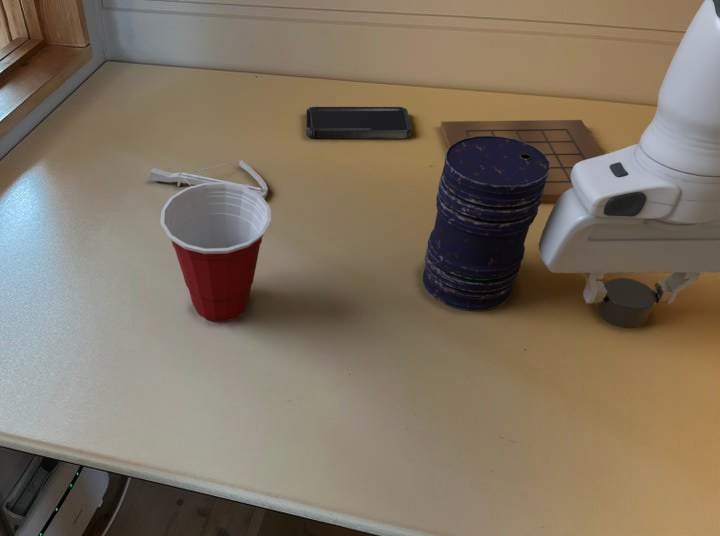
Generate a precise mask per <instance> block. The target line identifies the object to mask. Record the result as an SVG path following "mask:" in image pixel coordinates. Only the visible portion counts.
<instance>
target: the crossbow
mask: <svg viewBox="0 0 720 536" xmlns="http://www.w3.org/2000/svg"><path fill="white" fill-rule="evenodd" d="M238 162H239V167H240V168H242V169H243V170H244V171H246V172H247V173H248V174H249V175H251V177H252V178H253V179H255V181H256V182H257V183H258V184H259V185H260V187H258V186H252V185H251V183H246V184H242V183H238V182H232V181H228V180H222V179H217V178H212V177H207V176H203V175H199V174H192V173H196V172H199V171H200V172H201V171H205V170H208V169H209V170H210V169H213V168H216V167H221V166H226V165H230V164H233V163H238ZM149 176H150V178H149V179H150V181H154V182H163V183H176V182H177V188H180V187H181V185H182V184H183V186H185V185H186V184H188V185H189V187H192V186H195V185H199V184H203V183H216V182H227V183H232V184H236V185H241V186H245V187H247V188H249V189H251V190H253V191H255V192H256V193H258V194H260V195H261V196H262V197H263V198H264V200H265V201H266V197H267V196H268V195H269V194H268V193H269V188H268V185H267V183H266V181H264V179H263V177H262V176H260V174H259V173H258V172H256V171H255V170H254V168H252V167H251V166H250V165H248V164H247V163H246V162H245V161H244V160H243V159H239V160H236V161H231V162H226V163H223V164H218V165H215V166H209V167H205V168H201V169H198V170H194V171H188V172H187V171H184V172H181V171H179V172H170V171H166V170H162V169H159V168H155V167H152V168H151V170H149Z"/></svg>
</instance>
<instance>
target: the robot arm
mask: <svg viewBox="0 0 720 536" xmlns="http://www.w3.org/2000/svg"><path fill="white" fill-rule="evenodd" d="M570 178H571V182H572V185H573V188H571V189H569V190H567V191H566V192H564V193H563V194H562V195H561V196H560V197H559V199H558V200H557V202H556V203H554V205H553V207H552V209H551V211H550V213H549V215H548V217H547V220H546V222H545V224H544V227H543V230H542V233H541V235H540V238H539V242H538V252H539V255H540V258H541V260H542V261H543V264H544V266H545V267H546V268H547V269H548V270H549V272H550V273H553V274H583V275H584V278H585V281H586V283H585V287H584V289H583V292H582V293H583V294H582V295H583V296H582V297H583V299H584V300H585V301H584V302H585V303H586V304H593V305H596V304H597V303H603V302H604V298H605V297H606V295H607V290H606V288H605V287H604V285H605V283H604V282H603V281H602V280H603V278H604V276H605V274H642V273H643V274H658V273H659V274H660V273H663V274H666V273H667V274H668V273H669V274H670V273H671V274H670V275H669V276H668V277H667V278H666V279H665V280H657V281H656V282H655V284H654V288H653V289H652V290H653V292H654V293H655V295H656V302H655V304H673V303H674V301H675V300H676V298H677V295H678V293H679V292H681V291H683V290H685V289H686V288H688V287H689V286H690V285H691V284H693V283H694V282H696V281H697V280H698V279H699V277H700V276H701V274H702V273H703V274H704V273H716V274H717V273H720V0H703V2H702V4H701V5H700V7H699V8H698V10H697V11H696V13H695V15H694V17H693V18H692V20H691V21H690V23H689V25H688V27H687V29H686V31H685V33H684V35H683V37H682V38H681V41H680V43H679V45H678V47H677V48H676V51H675V53H674V55H673V57H672V60H671V61H670V64H669V66H668V68H667V71H666V72H665V75H664V78H663V80H662V83H661V85H660V88H659V91H658V95H657V106H656V111H655V114H654V117H653V118H652V120H651V122H650V123H649V125H648V126H646V128H645V130H644V131H643V133H642V134H641V136H640V138H639V141H638V143H634V144H631V145H629V146H626V147H624V148H622V149H618V150H615V151H612V152H609V153H606V154H605V153H604V155H601V156H598V157H594V158H590V159H587V160H583V161H580V162H578V163H577V164H575V166H574V167H573V169H572V172H571V176H570Z"/></svg>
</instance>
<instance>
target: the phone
mask: <svg viewBox="0 0 720 536" xmlns="http://www.w3.org/2000/svg"><path fill="white" fill-rule="evenodd" d="M305 112H306V115H305V116H306V117H305V118H306V119H305V120H306V121H305V125H306V126H305V127H306V128H305V135H306V136H307V137H308V138H312V139H408V138H410V137H411V132H412V124H411V120H410V115H409V111H408V109H407V108H405V107H403V106H310V107H308V108H306V111H305Z"/></svg>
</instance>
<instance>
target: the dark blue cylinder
mask: <svg viewBox="0 0 720 536" xmlns="http://www.w3.org/2000/svg"><path fill="white" fill-rule="evenodd" d="M549 170H550V162H549V160H548V158H547V157H546V156H545V154H543V153H542V152H541V151H540V150H538V149H537V148H535V147H534V146H532V145H530V144H527V143H525V142H522V141H519V140H516V139H511V138H506V137H499V136H477V137H470V138H466V139H463V140H460V141H458V142H456V143H454V144H453V145H452V146H450V147H449V149H448V150H447V149H446V153H445V158H444V165H443V167H442V171H441V175H440V177H439V183H438V192H437V194H436V197H435V201H436V204H435V205H436V210H437V211H436V217H435V221H434V225H433V226H434V227H433V229H432V230H431V232H430V234H429V238H428V240H427V246H426V251H425V256H424V269H423V272H422V284H423V287H424V289H425V290H426V292H427V293H428V294H429V295H430V296H431V297H432V298H434V299H435V300H436V301H437V302H439V303H441V304H444V305H446V306H447V307H451V308H453V309H458V310H462V311H470V312H481V311H489V310H492V309H496V308H498V307H500V306H502V305H504V304H505V303H506V302H507V301H508V300H509V299H510V298H511V296H512V292H513V290H514V284H515V283H516V280H517V278H518V276H519V274H520V271H521V268H522V262H523V260H524V258H525V257H524V256H525V251H526V247H525V242H526V239H527V235H528V233H529V230H530V227H531V225H532V224H533V223H534V221H535V219H536V217H537V215H538V212H539V207H540V205H541V204H542V203H541V200H542V196H543V192H544V186H545V182H546V179H547V176H548V173H549Z"/></svg>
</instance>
